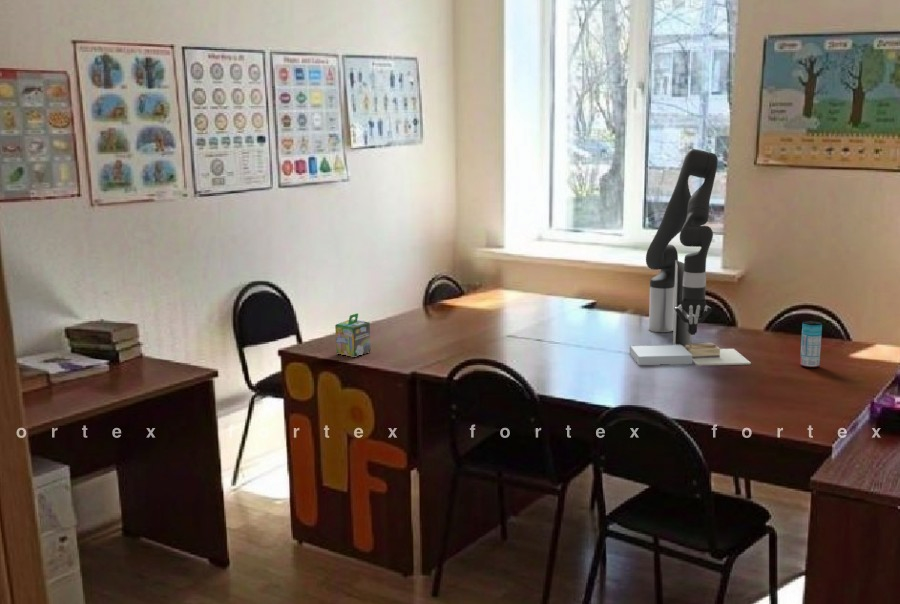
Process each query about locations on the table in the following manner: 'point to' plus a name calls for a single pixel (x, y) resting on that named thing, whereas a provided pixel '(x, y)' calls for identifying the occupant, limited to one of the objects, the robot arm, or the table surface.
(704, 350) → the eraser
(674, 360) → the large white box
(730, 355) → the mat
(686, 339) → the grey panel
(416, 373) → the table surface
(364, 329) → the chalk box
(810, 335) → the beverage can
